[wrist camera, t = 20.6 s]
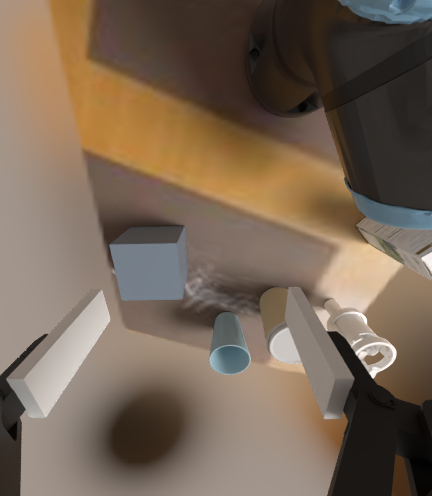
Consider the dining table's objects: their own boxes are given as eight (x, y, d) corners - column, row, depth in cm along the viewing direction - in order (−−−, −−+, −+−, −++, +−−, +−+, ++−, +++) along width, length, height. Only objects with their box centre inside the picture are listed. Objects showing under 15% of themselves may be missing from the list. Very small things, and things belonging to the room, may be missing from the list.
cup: (246, 331, 50) (253, 371, 41) (214, 336, 51) (214, 377, 42) (240, 305, 48) (246, 342, 38) (207, 311, 48) (204, 349, 39)
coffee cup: (251, 315, 49) (261, 362, 38) (261, 280, 45) (275, 320, 34) (290, 320, 49) (312, 368, 38) (303, 286, 46) (331, 327, 35)
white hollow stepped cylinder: (311, 315, 49) (348, 378, 35) (320, 289, 46) (366, 346, 32) (340, 318, 49) (389, 381, 35) (352, 293, 46) (410, 350, 33)
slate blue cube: (130, 227, 41) (109, 244, 32) (184, 226, 40) (176, 243, 32) (138, 274, 44) (121, 300, 36) (188, 273, 44) (182, 299, 36)
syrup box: (396, 224, 41) (485, 258, 27) (368, 245, 42) (439, 286, 29) (381, 203, 39) (468, 227, 26) (352, 225, 41) (420, 259, 27)
